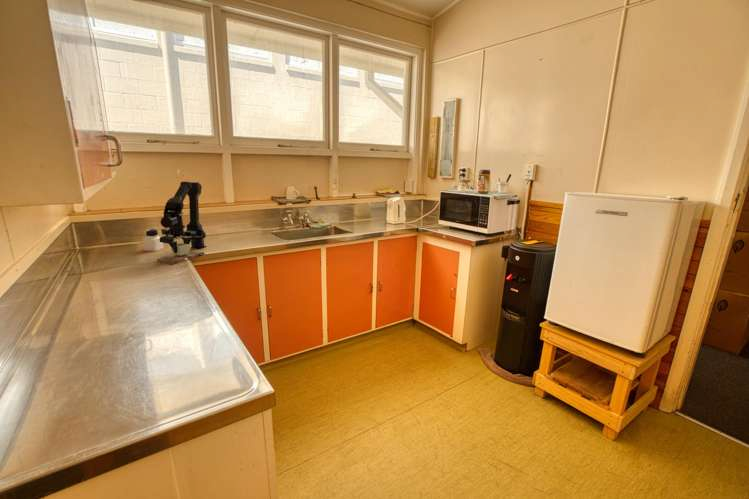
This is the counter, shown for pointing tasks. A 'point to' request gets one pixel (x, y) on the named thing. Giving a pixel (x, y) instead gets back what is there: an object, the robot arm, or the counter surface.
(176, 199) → the robot arm
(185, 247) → the square hollow cube
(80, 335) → the counter surface
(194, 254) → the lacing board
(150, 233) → the medicine bottle
